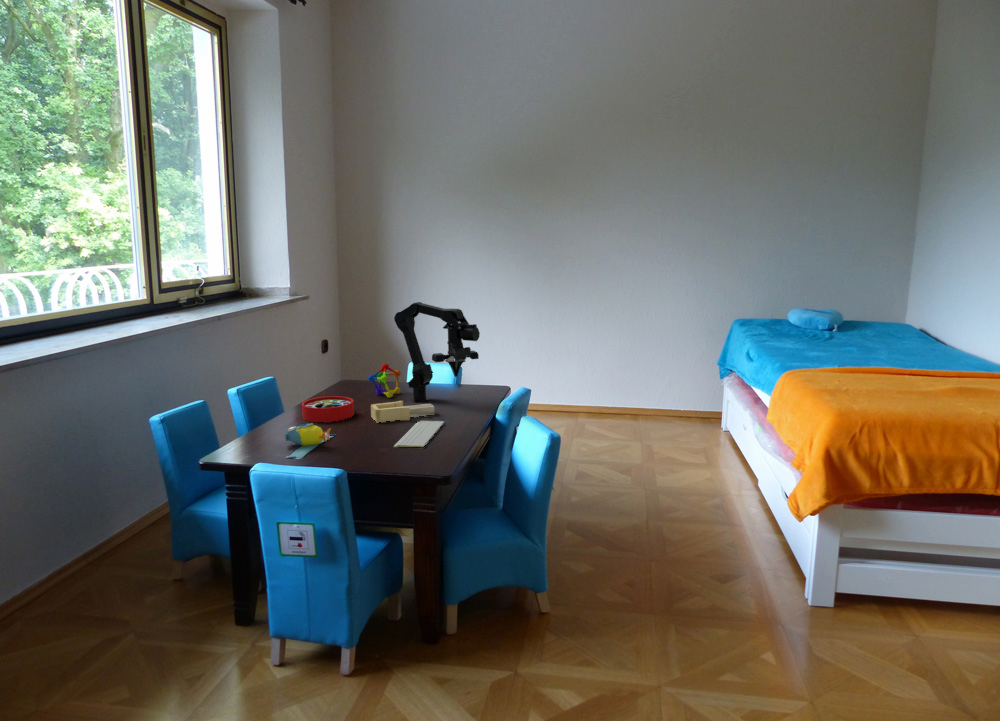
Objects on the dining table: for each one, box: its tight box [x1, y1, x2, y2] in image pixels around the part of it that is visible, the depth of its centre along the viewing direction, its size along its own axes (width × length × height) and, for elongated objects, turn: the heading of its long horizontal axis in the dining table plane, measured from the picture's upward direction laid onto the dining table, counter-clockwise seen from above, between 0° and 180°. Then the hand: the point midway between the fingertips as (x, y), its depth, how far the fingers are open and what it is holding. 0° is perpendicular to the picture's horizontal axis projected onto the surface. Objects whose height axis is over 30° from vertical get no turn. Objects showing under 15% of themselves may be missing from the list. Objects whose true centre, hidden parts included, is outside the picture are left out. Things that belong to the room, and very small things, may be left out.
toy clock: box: [301, 395, 355, 423], centre depth 283 cm, size 20×6×20 cm
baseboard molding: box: [392, 416, 445, 448], centre depth 256 cm, size 31×3×12 cm
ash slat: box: [382, 403, 435, 418], centre depth 280 cm, size 5×22×4 cm, turn 111°
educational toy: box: [367, 362, 402, 399], centre depth 315 cm, size 16×13×15 cm
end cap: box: [370, 400, 411, 424], centre depth 278 cm, size 13×13×5 cm
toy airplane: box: [284, 422, 334, 460], centre depth 243 cm, size 28×9×15 cm
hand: (455, 376), depth 297 cm, fingers closed
